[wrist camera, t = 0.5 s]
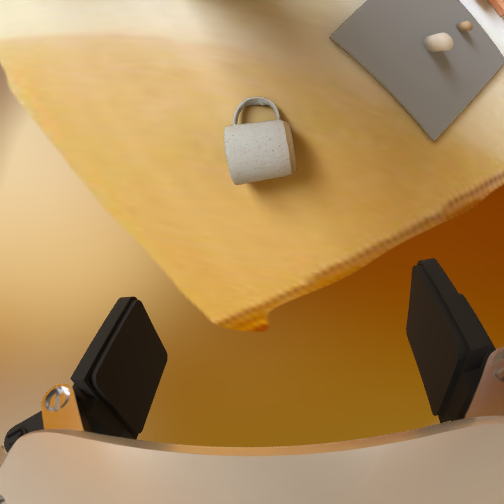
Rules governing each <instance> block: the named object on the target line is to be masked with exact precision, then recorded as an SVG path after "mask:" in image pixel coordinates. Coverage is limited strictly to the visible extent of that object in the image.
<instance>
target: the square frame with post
mask: <svg viewBox="0 0 504 504" xmlns="http://www.w3.org/2000/svg"><path fill="white" fill-rule="evenodd" d="M488 1H489V2H490V4H491V5H492V6H493V7H494V9H495V10H496V11H497V12H498V14H499V15H500V16H504V1H503V0H488Z"/></svg>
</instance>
